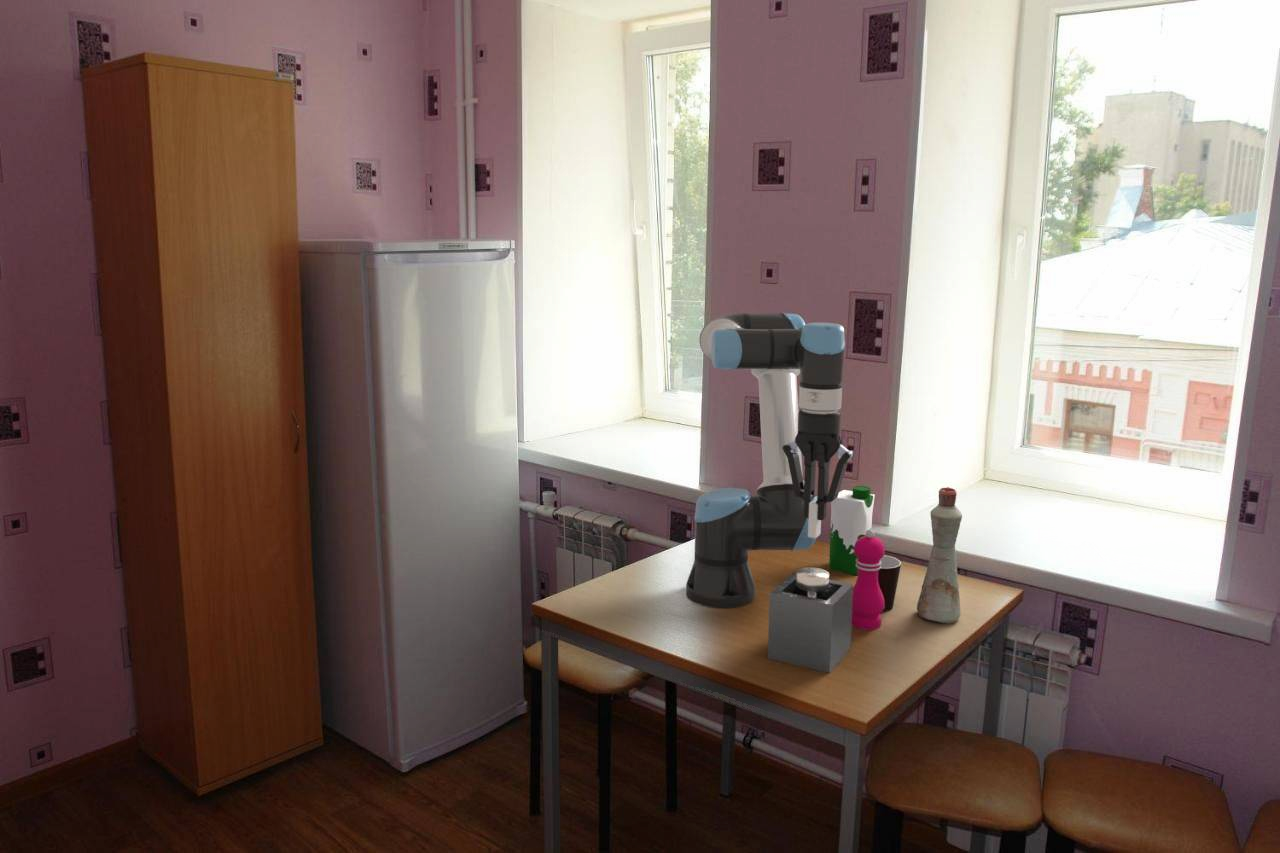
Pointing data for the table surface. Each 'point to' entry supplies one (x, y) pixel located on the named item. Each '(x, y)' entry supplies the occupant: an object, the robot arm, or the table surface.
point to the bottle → (942, 563)
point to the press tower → (810, 624)
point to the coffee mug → (889, 579)
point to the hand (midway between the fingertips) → (814, 535)
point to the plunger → (812, 580)
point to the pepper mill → (868, 583)
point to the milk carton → (849, 526)
